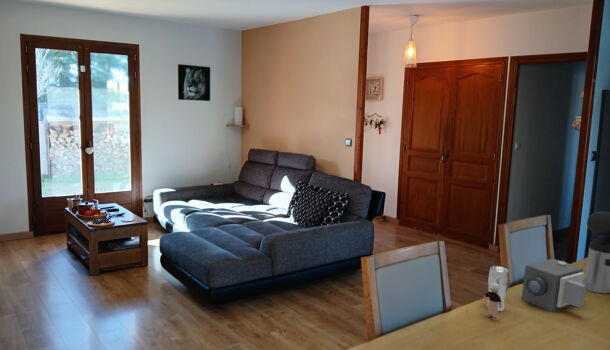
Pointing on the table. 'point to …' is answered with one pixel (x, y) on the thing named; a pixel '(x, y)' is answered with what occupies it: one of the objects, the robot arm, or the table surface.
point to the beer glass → (499, 282)
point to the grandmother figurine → (493, 301)
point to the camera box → (546, 282)
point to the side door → (572, 290)
